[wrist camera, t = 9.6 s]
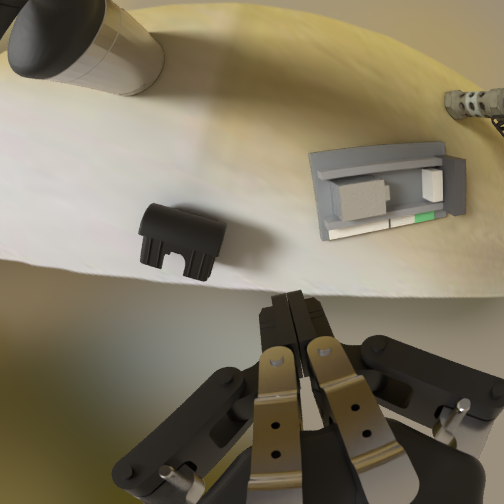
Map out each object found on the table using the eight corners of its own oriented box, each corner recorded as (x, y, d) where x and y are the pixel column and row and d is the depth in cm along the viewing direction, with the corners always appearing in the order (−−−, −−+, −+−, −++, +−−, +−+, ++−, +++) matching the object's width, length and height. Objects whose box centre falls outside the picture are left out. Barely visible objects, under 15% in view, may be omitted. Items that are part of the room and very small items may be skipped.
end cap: (228, 216, 37) (225, 233, 31) (215, 262, 40) (209, 286, 33) (158, 196, 36) (141, 209, 29) (149, 243, 38) (133, 263, 32)
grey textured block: (329, 180, 34) (339, 186, 30) (380, 173, 33) (394, 178, 30) (333, 212, 35) (343, 221, 32) (382, 204, 35) (396, 212, 31)
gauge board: (308, 153, 34) (320, 156, 28) (439, 141, 32) (465, 145, 26) (320, 238, 38) (332, 256, 33) (442, 214, 37) (465, 226, 31)
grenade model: (442, 125, 31) (512, 133, 17) (443, 85, 28) (511, 80, 15) (467, 136, 31) (533, 149, 18) (469, 99, 29) (534, 101, 15)
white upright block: (421, 168, 33) (432, 171, 30) (431, 167, 33) (442, 170, 30) (422, 197, 35) (433, 202, 32) (432, 196, 34) (442, 200, 32)
